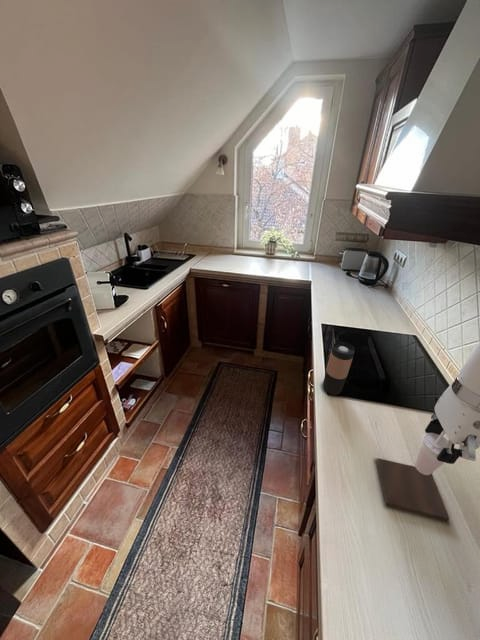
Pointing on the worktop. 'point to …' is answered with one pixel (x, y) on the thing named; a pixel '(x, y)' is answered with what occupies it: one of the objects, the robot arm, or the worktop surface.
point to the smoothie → (430, 453)
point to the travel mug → (338, 367)
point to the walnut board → (410, 490)
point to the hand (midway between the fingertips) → (438, 446)
